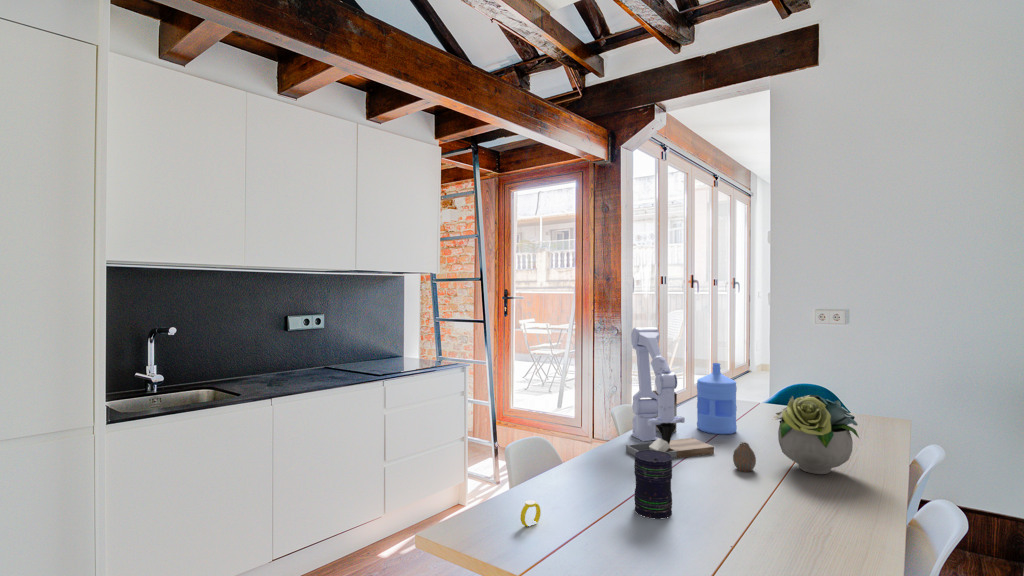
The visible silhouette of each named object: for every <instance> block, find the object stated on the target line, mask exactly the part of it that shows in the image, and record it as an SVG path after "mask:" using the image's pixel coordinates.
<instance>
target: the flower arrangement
mask: <svg viewBox="0 0 1024 576" xmlns="http://www.w3.org/2000/svg"><path fill="white" fill-rule="evenodd" d="M788 399H789V401H788V403H787V406H785V407H784V408H782V409H781V411H779V412H776V413H775V416H774V417H773V418H772V420H773V421H774V420H775V421H776V420H779V421H778V422H779V427H778V430H777V434H778V435H777V436H778V444H779V447H780V450H781V452H782V453H783V455H785V456H786V457H787V458H788V459H789V460H791V461H792V462H794V463H796V464H797V465H798V468H799V469H800V470H801V471H803V472H807V473H809V474H814V475H827V474H829V473H830V472H831V469H833V468H839V467H840V466H842V465H843V464H845V463H847V462H848V461H849V460H850V457H851V455H852V454H853V444H854V443H853V437H852V434H851V432H852V433H853V434H854V435H855V436H856V437H857V438H858V439H860V436H859V434H858V432H857V430H856V429H855V428H854V427H852V426H849V425H851V424H852V425H853V426H858V422H857V421H856V420H855V416H854V415H852V414H851V413H850V412H849V410H847V409H846V408H845V407H843V406H842V405H841V401H839V399H838V400H834V401H831V400H830V399H828V398H827V399H825V398H823V397H822V396H819V395H817V394H813V395H812V394H809V395H804V396H800V397H796V398H795V399H794V396H793V395H791V397H790V398H788Z"/></svg>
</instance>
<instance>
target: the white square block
mask: <svg viewBox="0 0 1024 576" xmlns="http://www.w3.org/2000/svg"><path fill="white" fill-rule="evenodd" d="M649 448H650V450H655V451H661V452H666V451H667V450H668V449H669V448H670V446H669V444H668V442H667V441H664V440H662V438H661V437H659V438H658V439H657V440H653V443H652V444H651V445H650V446H649Z"/></svg>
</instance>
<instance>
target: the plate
mask: <svg viewBox="0 0 1024 576" xmlns="http://www.w3.org/2000/svg"><path fill="white" fill-rule="evenodd" d="M669 446H670V448H669V449H668V450H667V451H666V452H669V451H677V458H676V459H683V458H689V457H698V455H699V456H706V455H714V454H715V447H714V446H713V445H711V444H709V443H706V442H703V441H701V440H698V439H696V438H694V437H688V438H680V439H679V438H678V439H670V443H669Z"/></svg>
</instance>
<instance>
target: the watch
mask: <svg viewBox="0 0 1024 576" xmlns="http://www.w3.org/2000/svg"><path fill="white" fill-rule="evenodd" d="M533 507H535V516H534V518H533V520H534V521H536V522H537V523H539V521H540V518H541V514H542V513H541V511H542V510H541V507H540V505H539V504H538V503H537V501H536V500H533V499H527V500H526V501H525V502H524V505H523V507H522V509H521V512H520V522H521V525H522V526H524V525H525V526H524V527H526V526H528V525H527V524H528V523H527V522H526V513H527V511H528V509H529V508H533Z"/></svg>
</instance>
